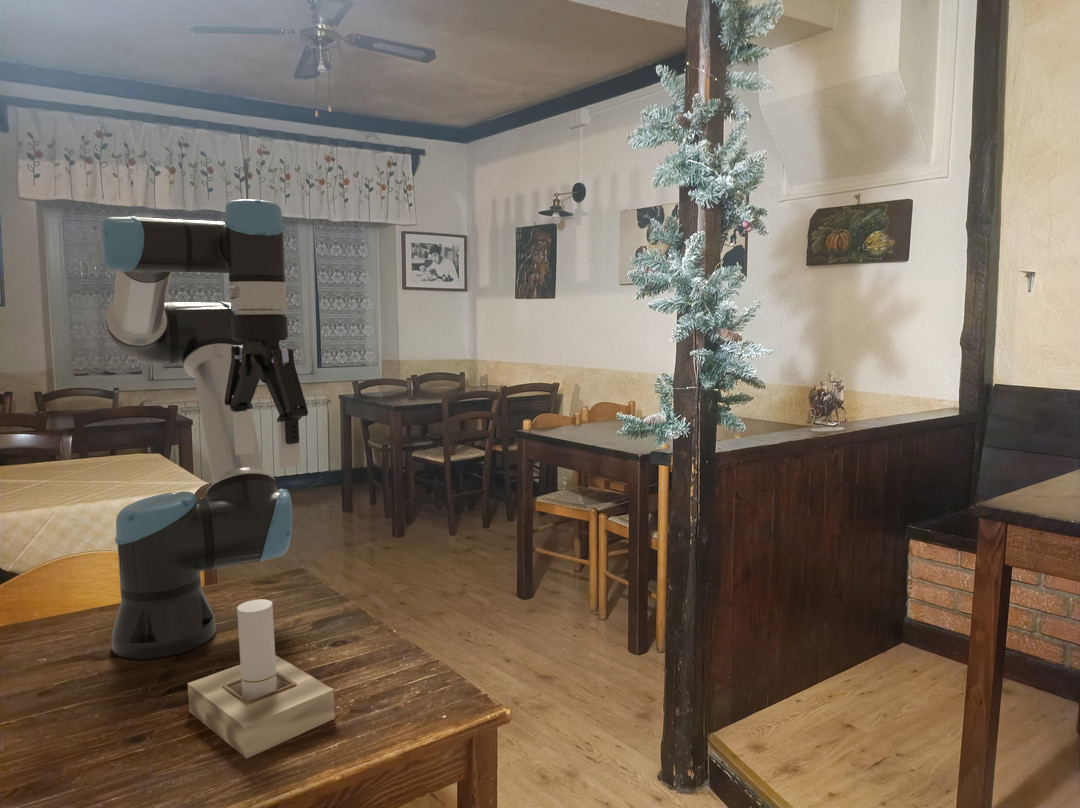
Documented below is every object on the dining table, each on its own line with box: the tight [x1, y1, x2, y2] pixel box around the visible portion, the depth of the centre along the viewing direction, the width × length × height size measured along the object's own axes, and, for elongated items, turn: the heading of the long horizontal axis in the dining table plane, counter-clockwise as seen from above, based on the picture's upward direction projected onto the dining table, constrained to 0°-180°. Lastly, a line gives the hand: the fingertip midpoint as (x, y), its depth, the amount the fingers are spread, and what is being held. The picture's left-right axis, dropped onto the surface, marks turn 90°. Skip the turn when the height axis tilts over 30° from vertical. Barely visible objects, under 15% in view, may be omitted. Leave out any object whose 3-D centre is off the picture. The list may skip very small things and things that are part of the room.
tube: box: [236, 598, 277, 701], centre depth 99 cm, size 4×4×15 cm
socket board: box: [187, 654, 336, 760], centre depth 100 cm, size 16×12×4 cm
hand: (266, 460), depth 110 cm, fingers open, 13 cm apart
